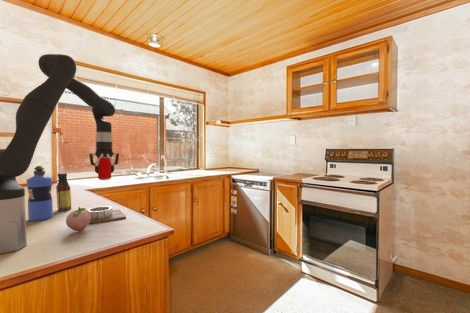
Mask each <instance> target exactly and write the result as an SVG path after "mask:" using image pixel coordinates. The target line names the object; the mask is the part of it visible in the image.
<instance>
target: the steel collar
mask: <svg viewBox="0 0 470 313" xmlns="http://www.w3.org/2000/svg"><path fill="white" fill-rule="evenodd" d="M86 210H87V211H89V212H90V214H91V219H92V220H94V219H104V218H107V217H110V216H112V210H113V207H112V206H111V205H110V206H108V205H102V206H95V207H94V206H93V207H90V208H88V209H86Z"/></svg>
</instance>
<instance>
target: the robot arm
mask: <svg viewBox="0 0 470 313" xmlns="http://www.w3.org/2000/svg"><path fill="white" fill-rule="evenodd" d="M38 67H39V70H40V71H41V72H42V73H43V75H45V76H46V77H48V78H46V80H44V82H43V83H41V84H40V85H38V86H37V87H35V88H34V89H32V90H31V91H30V92H28V93H27V94H26V95H25V96H24V98H23V100H21V103H20V105H19V106H18V108H17V110H16V113H15V132H14V135H13V136H12V138H11V140H10V142H9V144H8V145H7V147H6V148H3V149H2V148H0V255H1V254H5V253H6V254H7V253H11V252H17V251H19V250H20V249H23V248H24V247H26V246H27V220H26V190H25V188H24V187H23V186H22V185H21V184H19V182H18V181H17V178H16V177H20V176H22V175H23V174H25V173H26V172H27V171H28V169H29V167H30V165H31V163H32V160H33V157H34V154H35V151H36V148H37V146H38V143H39V141H40V139H41V137H42V135H43V133H44V131H45V129H46V126H47V125H48V123H49V121H50V120H51V117H52V115H53V114H54V111H55V110H56V108H57V104H58V103H59V102H60V99H61V98H62V96H63V94H64V92H65V91H66V90H68V91H69V92H71V93H73V94H74V95H75V96H76V97H78V98H79V99H80V100H81V101H83V102H84V103H85V105H87V106H88V107H90V108H91V112H92V114H93V118H94V122H95V126H96V127H95V129H96V130H95V131H96V132H95V152H94V153H92V152H91V153H89V154H88V156H89V161H90V165H91V166H94V172H95V173H96V174H98V164H99V160H100V158H102V157H108V158H109V159H110V162H111V174H113V173H114V172H115V165H118V164H119V159H120V158H119V156H120V153H118V152H115V153H114V152H113V133H112V127H113V126H112V123H111V122H110V121H109V120H105V119H104V117H112V116H114V115H115V113H116V108H115V105H113V104H112V102H111V101H109V100H107V99H105V98H104V97H103V96H101V95H100V94H98V93H97V92H96V91H95V90H94V89H93V88H92V87H90V86H89V85H87V84H85V83H84V82H82V81H81V80H79V79H77V78H75V76H76V73H77V63H76V61H75V59H74V58H73V57H71V56H69V55H67V54H61V53H60V54H57V53H56V54H55V53H53V54H52V53H51V54H50V53H48V54H43V55H41V56H39V59H38ZM95 157H97V159H96V161H95V162H94V158H95ZM112 157H115V159H114V161H113V159H112Z"/></svg>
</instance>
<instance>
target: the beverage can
mask: <svg viewBox="0 0 470 313" xmlns="http://www.w3.org/2000/svg"><path fill="white" fill-rule="evenodd" d="M97 176H98V177H97V178H98V180H100V181H109V180H111V179H112V173H111V162H110V159H109V158H108V157H102V158H100V160H99V164H98V173H97Z"/></svg>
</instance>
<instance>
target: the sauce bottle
mask: <svg viewBox="0 0 470 313" xmlns="http://www.w3.org/2000/svg"><path fill="white" fill-rule="evenodd" d="M67 176H68V174H67V172H63V173H61V172H59V173H57V177H58V180H57V184H56V187H55V189H56V192H55V194H56V203H57V206H56V207H57V211H60V212H63V211H68V210H71V209H72V194H71V193H72V192H71V191H72V190H71V186H70V183H69V182H68V177H67Z"/></svg>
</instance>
